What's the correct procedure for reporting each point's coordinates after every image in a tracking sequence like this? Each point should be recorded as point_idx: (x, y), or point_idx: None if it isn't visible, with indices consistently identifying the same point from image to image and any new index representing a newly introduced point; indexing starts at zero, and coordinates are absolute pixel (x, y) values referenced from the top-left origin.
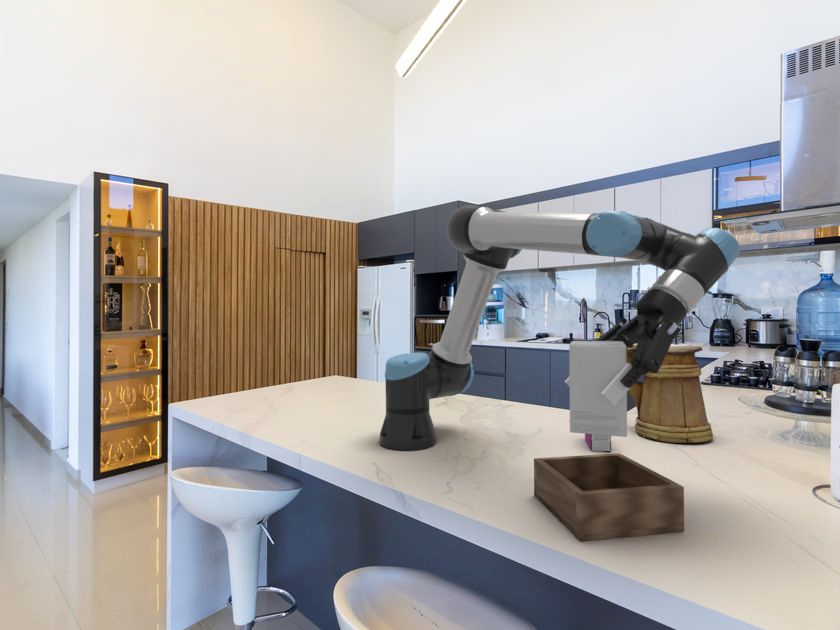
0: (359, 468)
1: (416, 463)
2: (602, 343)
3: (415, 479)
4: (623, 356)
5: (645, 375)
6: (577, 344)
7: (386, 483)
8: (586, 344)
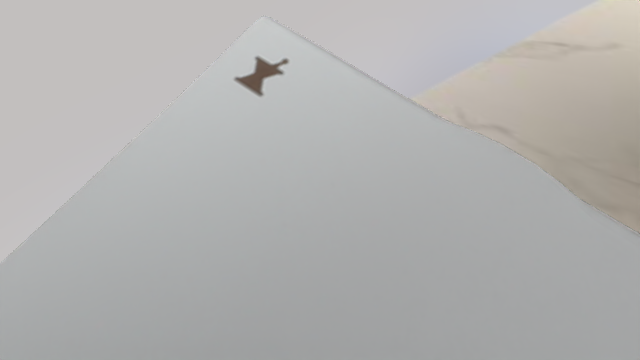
0: (586, 24)
1: (612, 108)
2: (36, 330)
3: (525, 88)
4: None
5: None
6: (215, 64)
7: (512, 48)
8: (146, 127)
